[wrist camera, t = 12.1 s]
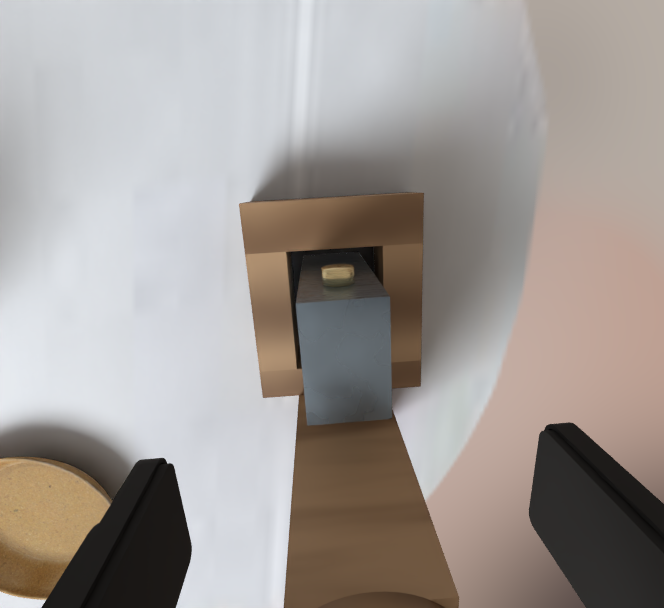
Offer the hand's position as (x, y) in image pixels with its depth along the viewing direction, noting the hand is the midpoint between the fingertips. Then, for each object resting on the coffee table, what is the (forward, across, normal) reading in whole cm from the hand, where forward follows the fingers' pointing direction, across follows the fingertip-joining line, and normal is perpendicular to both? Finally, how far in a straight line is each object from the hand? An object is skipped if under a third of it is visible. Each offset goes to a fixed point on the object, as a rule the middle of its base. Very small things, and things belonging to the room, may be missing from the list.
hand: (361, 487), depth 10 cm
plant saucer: (+20, +25, +19) cm, 37 cm away
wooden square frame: (+19, -1, +3) cm, 20 cm away
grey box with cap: (+19, 0, 0) cm, 19 cm away
